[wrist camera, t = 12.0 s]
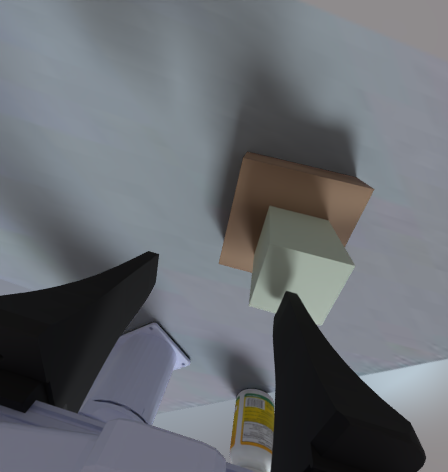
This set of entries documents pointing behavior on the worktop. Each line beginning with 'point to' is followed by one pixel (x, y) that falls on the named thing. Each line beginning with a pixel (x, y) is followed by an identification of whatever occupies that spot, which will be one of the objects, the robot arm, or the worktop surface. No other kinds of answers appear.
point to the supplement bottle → (253, 431)
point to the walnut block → (288, 202)
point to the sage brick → (298, 263)
